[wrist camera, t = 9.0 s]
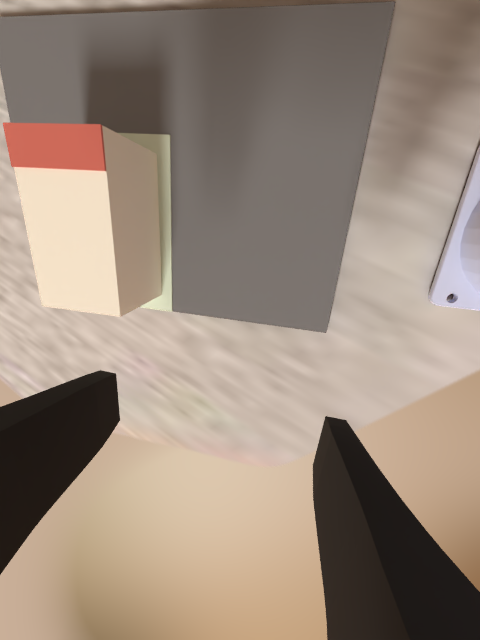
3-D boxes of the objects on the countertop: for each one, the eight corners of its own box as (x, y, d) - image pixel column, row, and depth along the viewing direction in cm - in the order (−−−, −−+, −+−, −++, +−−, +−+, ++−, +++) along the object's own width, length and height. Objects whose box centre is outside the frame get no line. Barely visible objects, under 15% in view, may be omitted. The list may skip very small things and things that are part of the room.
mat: (391, 10, 11) (396, -1, 11) (325, 329, 17) (326, 333, 16) (0, 23, 14) (-12, 15, 14) (48, 291, 20) (41, 293, 19)
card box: (161, 294, 17) (119, 317, 13) (100, 287, 18) (40, 306, 14) (156, 154, 15) (100, 124, 10) (83, 151, 15) (2, 122, 11)
